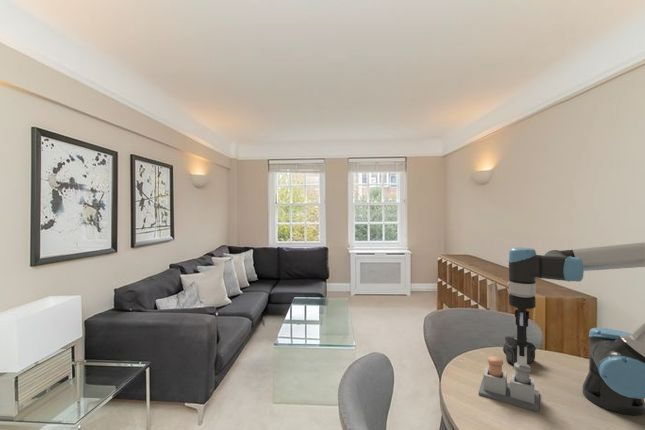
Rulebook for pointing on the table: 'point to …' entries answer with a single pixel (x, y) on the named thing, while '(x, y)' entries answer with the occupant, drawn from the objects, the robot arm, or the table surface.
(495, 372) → the plug terracotta
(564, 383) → the table surface
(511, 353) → the camera
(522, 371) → the plug grey
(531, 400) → the panel
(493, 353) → the table surface
